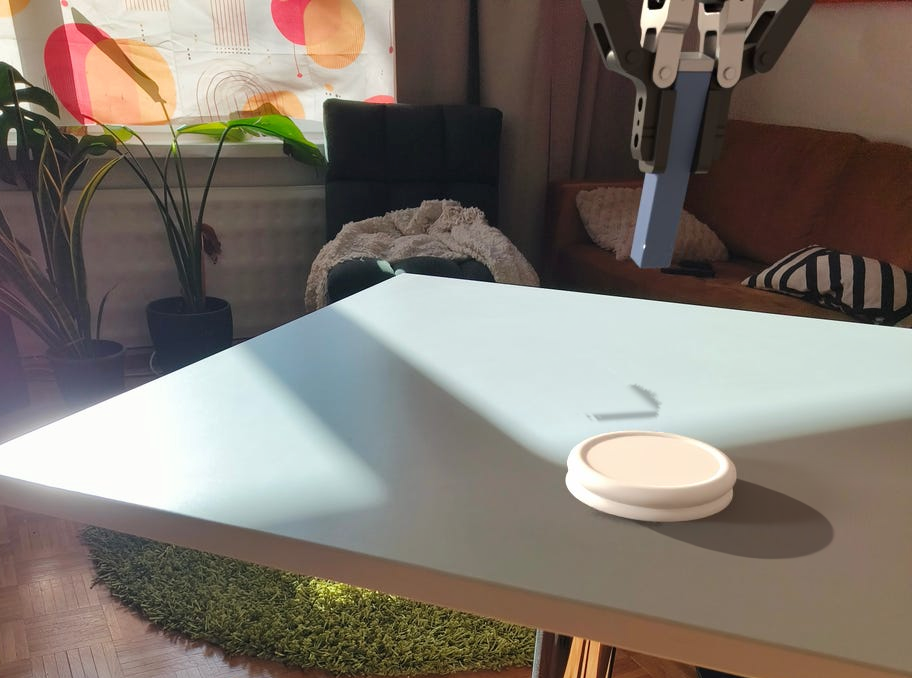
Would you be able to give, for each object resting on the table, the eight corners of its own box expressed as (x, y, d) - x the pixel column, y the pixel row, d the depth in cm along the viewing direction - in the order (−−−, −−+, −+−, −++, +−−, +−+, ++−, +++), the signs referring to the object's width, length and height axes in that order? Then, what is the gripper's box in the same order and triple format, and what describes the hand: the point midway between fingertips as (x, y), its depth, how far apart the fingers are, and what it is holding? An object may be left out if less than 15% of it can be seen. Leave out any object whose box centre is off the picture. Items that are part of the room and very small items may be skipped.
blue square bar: (659, 255, 51) (701, 51, 45) (670, 268, 50) (715, 59, 43) (629, 256, 51) (667, 51, 44) (639, 268, 50) (680, 59, 43)
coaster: (530, 502, 56) (534, 449, 54) (640, 466, 61) (647, 417, 59) (649, 564, 50) (658, 506, 48) (761, 518, 55) (773, 464, 53)
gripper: (610, -338, 33) (568, 183, 43) (944, -314, 35) (832, 179, 45) (553, -277, 39) (528, 166, 49) (840, -260, 41) (761, 163, 51)
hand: (673, 170), depth 47 cm, fingers closed on blue square bar, 2 cm apart
